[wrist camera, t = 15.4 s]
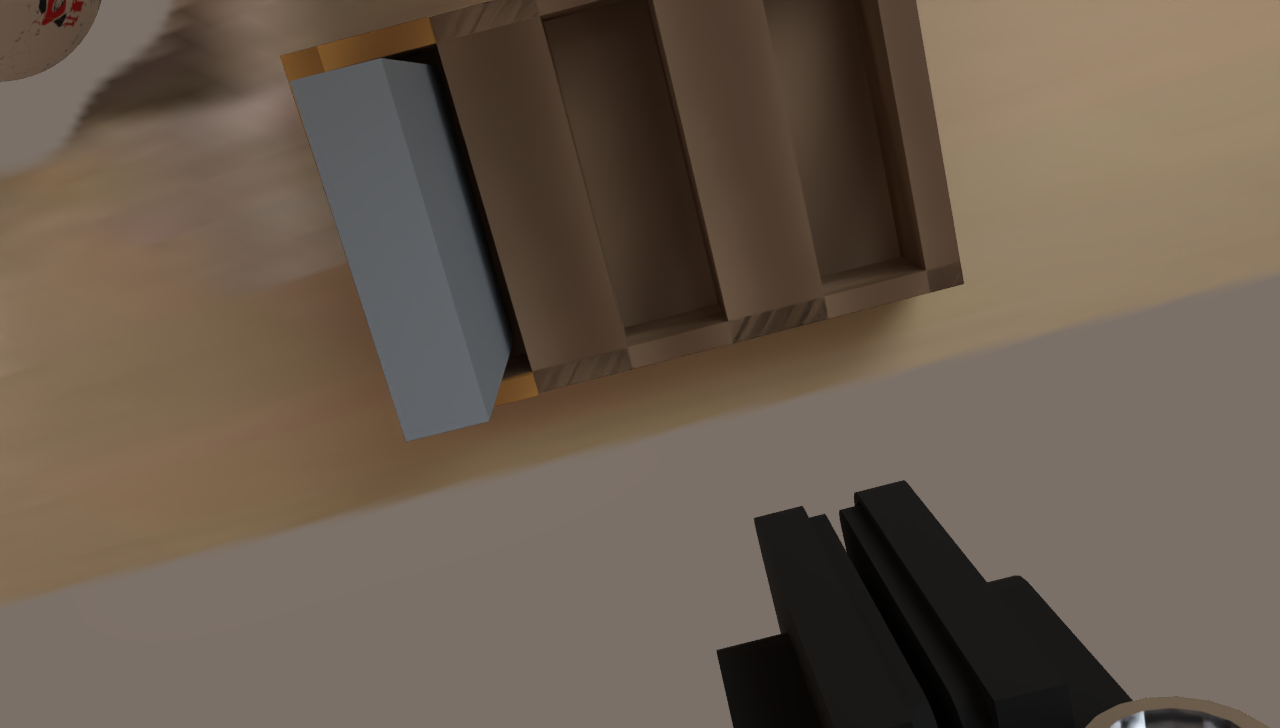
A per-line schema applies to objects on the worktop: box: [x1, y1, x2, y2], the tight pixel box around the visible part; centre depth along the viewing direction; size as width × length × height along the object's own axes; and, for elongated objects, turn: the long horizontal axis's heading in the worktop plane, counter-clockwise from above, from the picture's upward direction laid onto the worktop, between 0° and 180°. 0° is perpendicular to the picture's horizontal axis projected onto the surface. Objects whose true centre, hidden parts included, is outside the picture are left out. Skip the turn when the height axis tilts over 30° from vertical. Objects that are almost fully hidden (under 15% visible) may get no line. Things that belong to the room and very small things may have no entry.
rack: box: [280, 0, 964, 407], centre depth 36 cm, size 20×13×5 cm, turn 104°
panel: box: [290, 58, 515, 442], centre depth 32 cm, size 2×10×10 cm, turn 14°
